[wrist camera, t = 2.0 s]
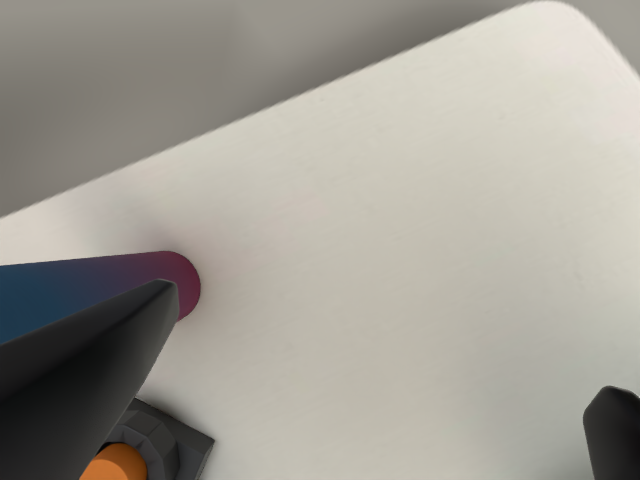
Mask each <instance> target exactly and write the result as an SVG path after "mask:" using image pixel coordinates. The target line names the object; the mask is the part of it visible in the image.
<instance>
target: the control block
mask: <svg viewBox="0 0 640 480" xmlns="http://www.w3.org/2000/svg"><path fill="white" fill-rule="evenodd" d="M214 442H215V440H213V439H211V438H209V437H207V436H206V435H204V434H202V433H200V432H198V431H196V430H194V429H192V428H190V427H189V426H187V425H185V424H183V423H181V422H179V421H177V420H175V419H173V418H171V417H170V416H168V415H166V414H164V413H162V412H160V411H158V410H156V409H154V408H153V407H151V406H149V405H147V404H145V403H143V402H141V401H139V400H137V399H136V398H133V400H132V401H131V403H130V404H129V406H128V407H127V409H126V410H125V412H124V413H123V415H122V416H121V418H120V419H119V421H118V422H117V424H116V425H115V427H114V428H113V430H112V431H111V432H110V434H109V435H108V437H107V438H106V440H105V441H104V443H103V444H102V446H101V447H100V449H99V450H98V452H97V453H96V455H98V454H99V453H100V452H101V451H102V450H103V449H104V448H106V447H107V446H109V445H111V444H114V443H124V444H128V445H130V446H131V447H133V448H135V449H136V450H137V451H138V452H139V454H140V455H141V457H142V458H143V459H144V461H145V463H146V466H147V479H146V480H199V477H200V475H201V472H202V470H203V468H204V465H205V463H206V461H207V458H208V456H209V454H210V451H211V449H212V447H213V444H214ZM96 455H95V456H96ZM95 456H94V457H95Z"/></svg>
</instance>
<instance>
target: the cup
mask: <svg viewBox="0 0 640 480" xmlns="http://www.w3.org/2000/svg"><path fill="white" fill-rule="evenodd" d="M155 279H164V280H168V281H172V282H174V283H176V285H177V288H178V299H179V316H178V319H177V321H176V322H178V321H179V320H181V319H182V318H184V317H185V316H186V315H188V314H189V313H190V312H191V311H192V310H193V309H194V307H195V306H196V304H197V302H198V299H199V296H200V280H199V276H198V274H197V271H196V270H195V268H194V266H193V265H192V264H191V263H190V262H189V261H188V260H187V259H186V258H185V257H183V256H182V255H180V254H178V253H175V252H171V251H159V252H148V253H137V254H126V255H114V256H103V257H92V258H81V259H70V260H59V261H48V262H36V263H25V264H14V265H3V266H0V344H2V343H4V342H7V341H9V340H11V339H14V338H16V337H19V336H21V335H23V334H26V333H28V332H31V331H33V330H35V329H38V328H40V327H42V326H45V325H47V324H50V323H52V322H54V321H57V320H59V319H62V318H64V317H66V316H69V315H71V314H73V313H76V312H78V311H81V310H83V309H85V308H88V307H90V306H93V305H95V304H97V303H100V302H102V301H105V300H107V299H109V298H112V297H114V296H116V295H119V294H121V293H124V292H126V291H128V290H131V289H133V288H136V287H138V286H140V285H143V284H145V283H147V282H150V281H152V280H155Z"/></svg>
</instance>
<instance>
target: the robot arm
mask: <svg viewBox="0 0 640 480" xmlns="http://www.w3.org/2000/svg"><path fill="white" fill-rule="evenodd" d="M178 316H179V299H178V288H177V285H176V283H174V282H172V281H168V280H164V279H155V280H152V281H150V282H147V283H145V284H143V285H140V286H138V287H136V288H133V289H131V290H128V291H126V292H124V293H121V294H119V295H116V296H114V297H112V298H109V299H107V300H105V301H102V302H100V303H97V304H95V305H93V306H90V307H88V308H85V309H83V310H81V311H78V312H76V313H73V314H71V315H69V316H66V317H64V318H62V319H59V320H57V321H54V322H52V323H50V324H47V325H45V326H42V327H40V328H38V329H35V330H33V331H31V332H28V333H26V334H23V335H21V336H19V337H16V338H14V339H11V340H9V341H7V342H4V343H2V344H0V480H79V479H80V477H81V476H82V474H83V473H84V471H85V470H86V468H87V467H88V465H89V464H90V462H91V461H92V459H93V458H94V456H95V455H96V453H97V452H98V450H99V449H100V447H101V446H102V444H103V443H104V441H105V440H106V438H107V437H108V435H109V434H110V432H111V431H112V430H113V428H114V427H115V425H116V424H117V422H118V421H119V419H120V418H121V416H122V415H123V413H124V412H125V410H126V409H127V407H128V406H129V404H130V403H131V401H132V400H133V398H134V397H135V395H136V394H137V392H138V391H139V389H140V388H141V386H142V384H143V383H144V381H145V380H146V378H147V376H148V374H149V372H150V371H151V369H152V367H153V365H154V363H155V361H156V359H157V357H158V356H159V354H160V352H161V350H162V348H163V346H164V344H165V342H166V340H167V338H168V337H169V335H170V333H171V331H172V329H173V327H174V325H175V323H176V321H177V319H178ZM583 425H584V430H585V435H586V440H587V445H588V450H589V455H590V460H591V465H592V470H593V475H594V480H640V398H639V397H638V396H637V395H636V394H634V393H633V392H631V391H629V390H626V389H622V388H618V387H614V386H606V387H603V388H602V389H601V390H600V391H599V393H598V394H597V395H596V397H595V398H594V399H593V400H592V402H591V403H590V404H589V405H588V407H587V408H586V410H585V412H584V415H583Z"/></svg>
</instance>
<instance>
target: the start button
mask: <svg viewBox="0 0 640 480" xmlns="http://www.w3.org/2000/svg"><path fill="white" fill-rule="evenodd" d="M146 479H147V466H146V463H145V461H144V459H143V458H142V457H141V455H140V454H139V452H138V451H137V450H136V449H135V448H133V447H131V446H130V445H128V444H124V443H114V444H111V445H109V446H107V447H106V448H104V449H103V450H102V451H101V452H100V453H99V454H98V455H96V456H95V457H94V458H93V459H92V461H91V462H90V464H89V465H88V467H87V468H86V470H85V471H84V473H83V474H82V476H81V477H80V479H79V480H146Z"/></svg>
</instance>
